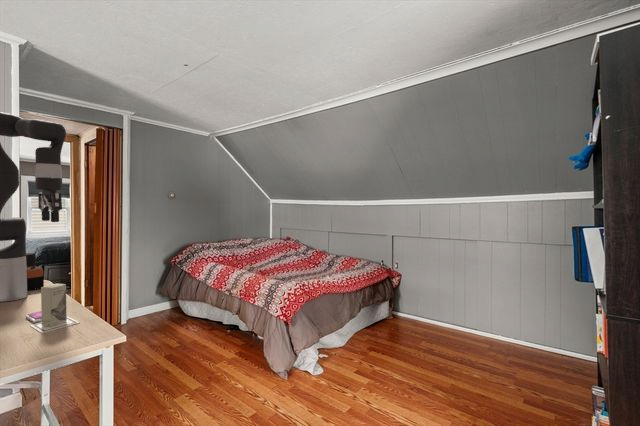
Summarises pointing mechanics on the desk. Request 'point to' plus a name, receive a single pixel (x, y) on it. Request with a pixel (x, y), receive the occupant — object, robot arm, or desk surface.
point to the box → (53, 304)
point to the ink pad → (35, 317)
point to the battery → (35, 278)
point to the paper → (47, 329)
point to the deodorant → (31, 260)
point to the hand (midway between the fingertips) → (50, 221)
